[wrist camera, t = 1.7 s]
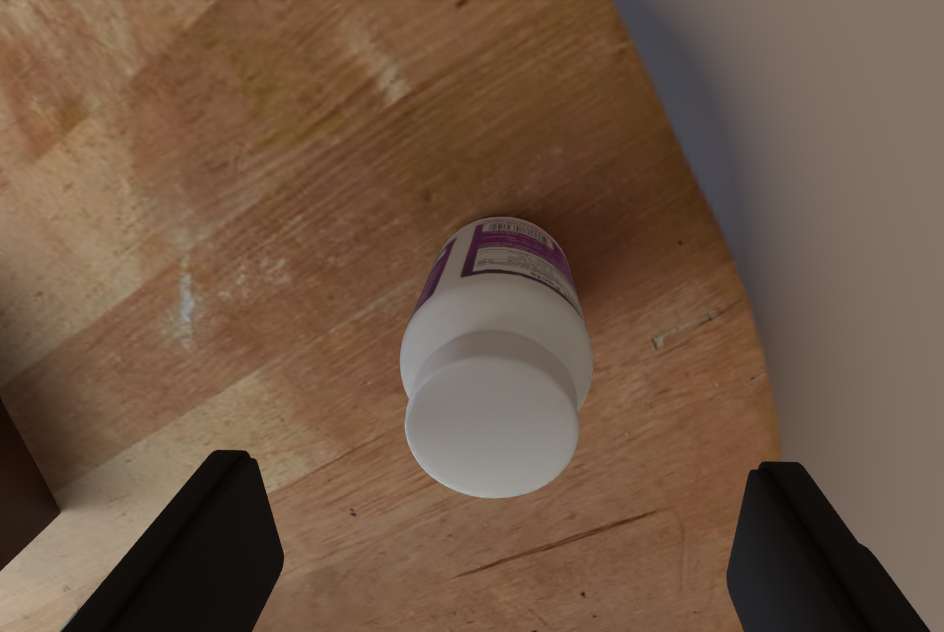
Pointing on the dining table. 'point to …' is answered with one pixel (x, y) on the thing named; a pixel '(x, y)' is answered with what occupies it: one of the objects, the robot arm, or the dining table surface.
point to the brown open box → (20, 494)
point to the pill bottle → (496, 361)
